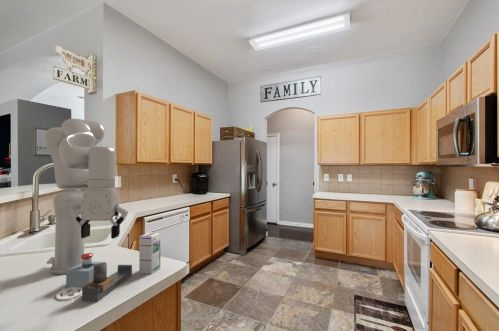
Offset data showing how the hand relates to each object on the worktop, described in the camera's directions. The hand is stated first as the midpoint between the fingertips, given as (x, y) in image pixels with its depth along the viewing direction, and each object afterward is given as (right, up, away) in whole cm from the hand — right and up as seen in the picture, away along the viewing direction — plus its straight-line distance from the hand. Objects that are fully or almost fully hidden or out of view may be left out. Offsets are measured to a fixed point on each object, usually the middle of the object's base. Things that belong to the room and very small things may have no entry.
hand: (100, 237), depth 75 cm
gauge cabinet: (-9, -18, +7) cm, 22 cm away
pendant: (-8, -19, -2) cm, 20 cm away
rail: (+1, -18, +4) cm, 19 cm away
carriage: (0, -16, -1) cm, 16 cm away
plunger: (-9, -12, +7) cm, 17 cm away
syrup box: (+9, -19, +17) cm, 27 cm away
